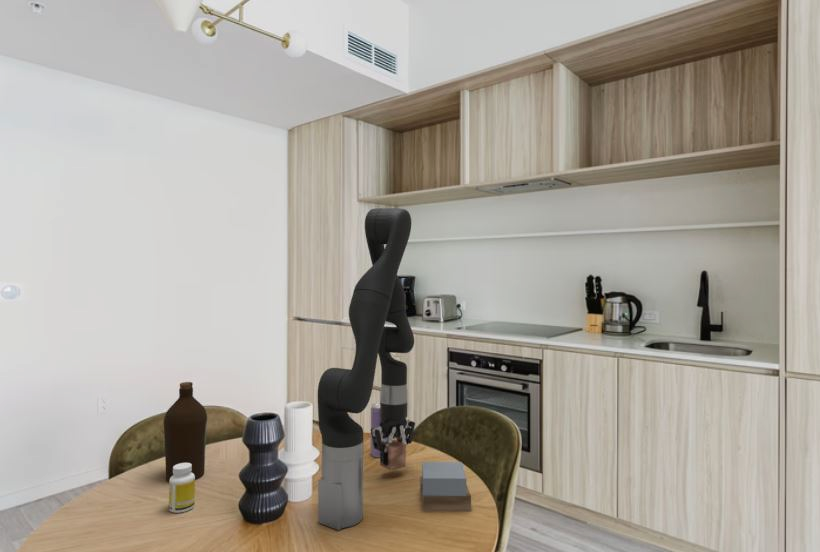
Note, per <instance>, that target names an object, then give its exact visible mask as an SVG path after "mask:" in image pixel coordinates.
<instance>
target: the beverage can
mask: <svg viewBox="0 0 820 552" xmlns="http://www.w3.org/2000/svg"><path fill="white" fill-rule="evenodd" d="M380 423H381V418H380V402H376V403H372V404H371V407H370V429H371V428H377V427H379V426H380ZM381 434H382V431H381ZM380 436H382V435H380ZM386 439H388V438H387V437H386ZM370 454H371V456H372V457H373V458H378V459H380V451H378V450H376V449H374V446H373V440H372V435H371V434H370Z"/></svg>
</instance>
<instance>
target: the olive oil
mask: <svg viewBox="0 0 820 552" xmlns="http://www.w3.org/2000/svg"><path fill="white" fill-rule="evenodd" d="M193 385H194V384H193V382H191V381H183V382H180V383H179V388H178V389H179V390H178V393H179V395H178V399H176V401H174V403H173V404H172V405H170V406H169V408H168V409H167V410H166V412H165V414H164V418H163V435H164V437H163V439H164V457H165V462H164V463H165V479H166V481H167V482H169V480H170V478H171V476H173V475H174V474H173V466H175V465H177V464H180V463H191V464H192V471H191V472H192V473H193V474H194V475H195V481H196V480H198V479H200V478H202V476H204V475H205V464H206V463H205V461H206V446H207V445H206V444H207V431H208V430H207V429H208V427H207V426H208V413H207V410H206V409H205V406H204V405H203V404H201V403H200V402H199V401H198V400H197V399H196V398H195V397H194V387H193Z"/></svg>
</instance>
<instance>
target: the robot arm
mask: <svg viewBox="0 0 820 552" xmlns="http://www.w3.org/2000/svg"><path fill="white" fill-rule="evenodd" d="M411 216H412V215H411V214H410V212H409V211H408V210H407V209H405V208H398V207H397V208H396V207H394V208H393V207H391V208H386V207H385V208H384V207H382V208H379V207H378V208H371V209H370V210H369V211H368V212H367V213H366V215H365V219H364V234H365V238H366V243H367V248H368V252H369V253H368V254H369V256H370V261H371V264H372V266H371V267H370V268H368V270H367V271H366V272H364V274H362V276H361V277H360V279H359V280H358V281H357V283H356V284H355V286H354V289H353V293H352V296H351V299H350V303H349V307H348V319H349V323H350V324H349V325H350V327H351V330H352V334H353V337H354V341H355V342H354V343H355V353H354V359H353V364H352V366H351V367H352V368H351V369H349V368H342V367H341V368H340V367H331V368H330V367H329V368H328V369H326V370H325V371H324V372H323V373H322V375H321V376H320V379H319V382H318V385H317V387H318V388H317V415H318V416H317V417H318V429H319V432H320V435H321V478H319V479H318V481H317V482H318V488H317V489H318V495H317V496H318V497H317V523H319V524H321V525H324V526H327V527H329V528H331V529H334V530H337V531H340V530H342V529H346V528H350V527H353V526H355V525H358V524H359V523H360V522H361V521H362V520H363V517H364V428H363V427H362V426H361V425H360V424H359V423H358V422H356V421H355V419H353V418H352V417H351V416H350V414H360V413H362V412H363V411H364V410H365V409H366V407H368V404H369V402H370V399H371V396H372V393H373V386H374V381H375V376H376V375H375V374H376V368H377V361H378V357H379V363H380V371H381V373H380V375H381V376H380V377H381V378H380V380H381V381H380V382H381V383H380V391H379V403H380V418H381V423H380V426H379V427H377V428H371V427H370V436H371V435H372V440H373V446H374V449H376V450H378V451H380V458H379V463H380V462H381V463H382V465H384V466H387V465H388V452H387V451H388V449H389V445H390V444H391V443H392V440H397V441H399V442H401V443H404V444H406V447H407V446H408V444H409V445H410V444H412V443H413V436H414V432H415V426H416V422H415V421H413V420H410V419H407V417H408V406H409V405H408V399H409V396H408V395H409V393H408V366H407V364H406V363H405V362H404V361H401V360H398V359H395V358H394V357H393V356H392V354H391V353H394V354H408V353H410V352H411V351H412V350H413V348H414V345H415V336H414V332H413V330H412V326H411V325H410V324H411V323H410V322H409V319H408V318H409V317H408V315H407V311H406V310H407V309H406V296H405V289H404V286H403V283H402V281H401V279H400V278H399V276H398V272H399V268H400V266H401V263H402V259H403V257H404V254H405V250H406V247H407V245H408V243H409V242H408V241H409V239H410V236H411V231H412V230H411V229H412V217H411ZM386 322H387V323H391V324H393V325H394V326H385V324H386ZM381 431H382V434H381ZM380 435H382V436H380ZM386 437H387V438H388V439H386ZM384 445H385V446H384Z"/></svg>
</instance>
